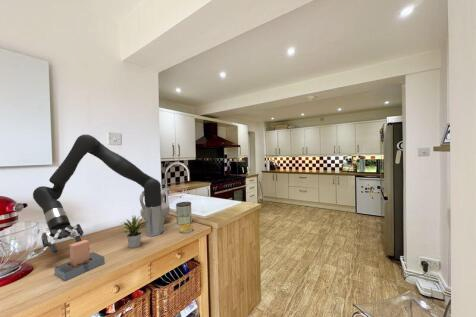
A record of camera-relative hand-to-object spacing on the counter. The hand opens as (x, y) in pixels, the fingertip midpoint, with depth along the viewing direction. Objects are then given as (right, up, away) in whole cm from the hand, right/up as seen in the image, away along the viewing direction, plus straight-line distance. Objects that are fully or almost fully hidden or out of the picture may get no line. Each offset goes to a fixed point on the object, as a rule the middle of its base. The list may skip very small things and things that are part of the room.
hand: (68, 248), depth 90 cm
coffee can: (+40, -5, +49) cm, 63 cm away
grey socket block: (+10, -6, -6) cm, 13 cm away
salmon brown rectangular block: (+10, -6, -6) cm, 13 cm away
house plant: (+22, -6, +14) cm, 27 cm away
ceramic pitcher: (+18, -6, +51) cm, 55 cm away
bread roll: (+45, -5, +35) cm, 57 cm away
